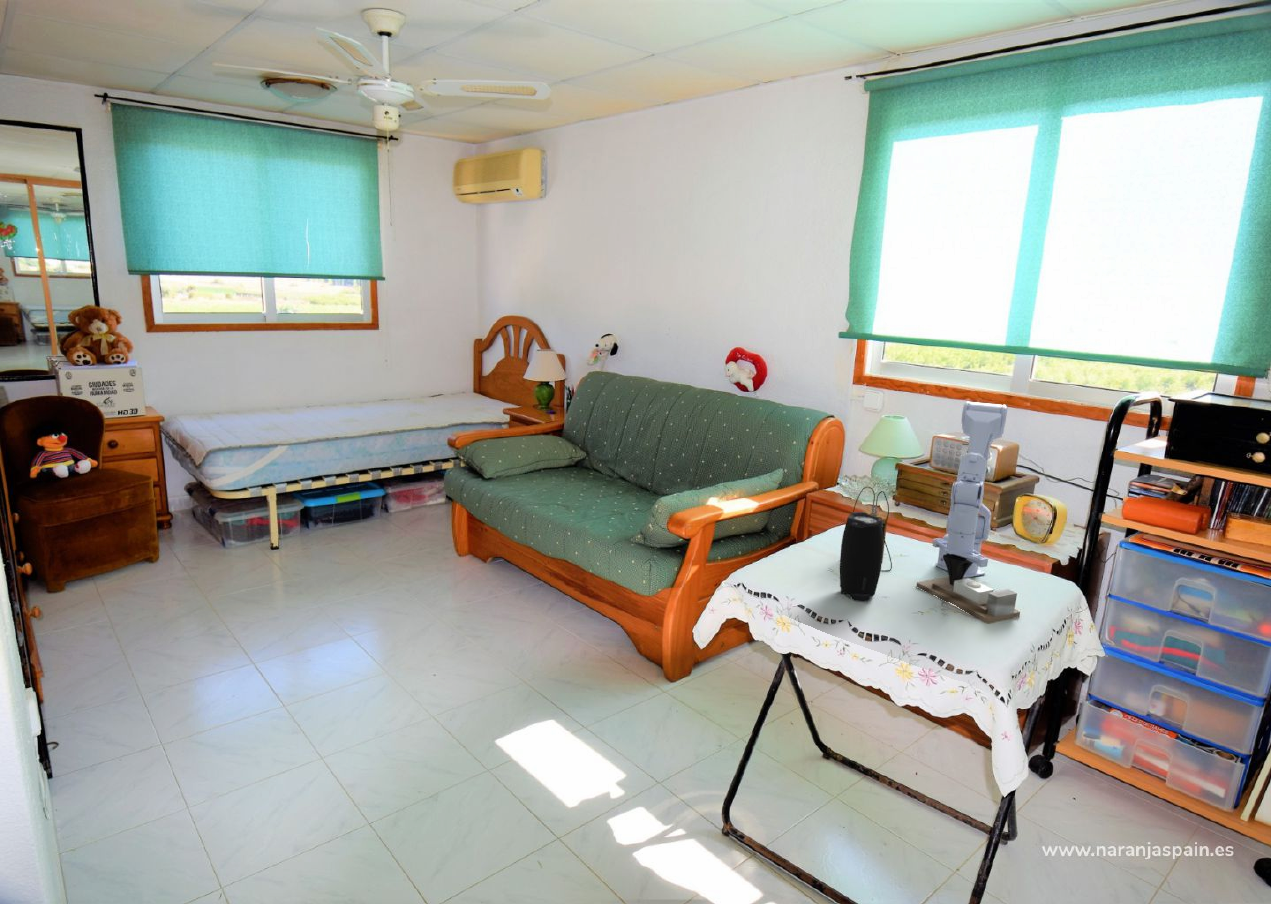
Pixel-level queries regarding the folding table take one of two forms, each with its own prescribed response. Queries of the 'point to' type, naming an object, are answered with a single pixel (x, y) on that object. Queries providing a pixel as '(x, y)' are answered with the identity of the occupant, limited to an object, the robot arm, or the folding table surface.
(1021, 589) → the folding table surface
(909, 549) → the folding table surface
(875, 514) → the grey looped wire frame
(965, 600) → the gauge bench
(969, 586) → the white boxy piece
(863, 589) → the portable speaker
